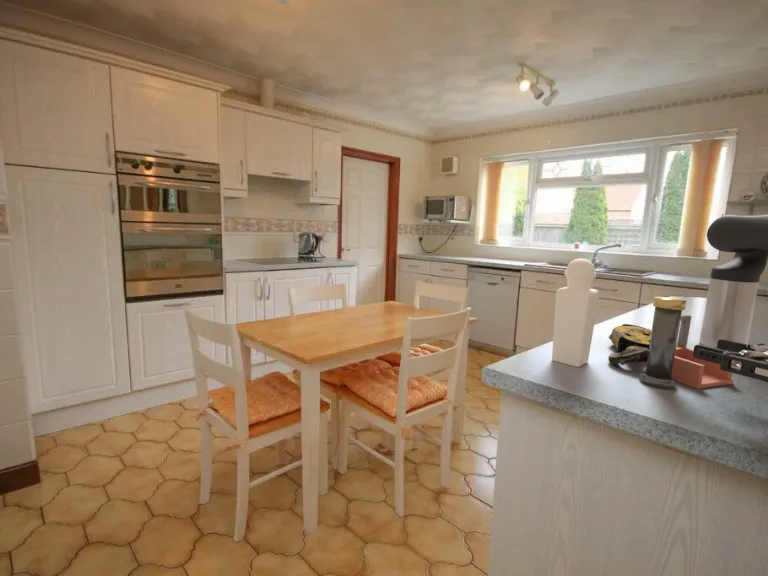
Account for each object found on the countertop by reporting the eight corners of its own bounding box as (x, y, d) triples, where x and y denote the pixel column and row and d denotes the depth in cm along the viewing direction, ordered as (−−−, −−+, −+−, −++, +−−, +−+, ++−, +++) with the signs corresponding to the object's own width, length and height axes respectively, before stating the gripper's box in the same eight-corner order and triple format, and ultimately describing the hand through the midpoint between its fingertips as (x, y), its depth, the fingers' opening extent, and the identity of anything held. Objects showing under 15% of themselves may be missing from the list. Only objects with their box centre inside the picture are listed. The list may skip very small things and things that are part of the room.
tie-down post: (652, 376, 78) (665, 296, 76) (682, 387, 73) (696, 301, 71) (632, 379, 76) (644, 296, 74) (661, 390, 71) (675, 302, 69)
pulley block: (588, 332, 84) (624, 314, 106) (581, 357, 86) (618, 335, 108) (666, 359, 75) (688, 334, 97) (656, 387, 77) (680, 355, 98)
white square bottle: (591, 362, 85) (604, 259, 82) (580, 369, 81) (593, 260, 77) (560, 354, 90) (571, 256, 86) (548, 360, 85) (559, 257, 82)
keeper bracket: (677, 363, 87) (685, 314, 85) (736, 383, 76) (746, 327, 75) (640, 368, 83) (648, 316, 81) (697, 388, 73) (707, 330, 71)
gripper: (869, 348, 57) (728, 322, 71) (839, 362, 50) (689, 329, 64) (856, 398, 58) (721, 362, 72) (826, 418, 51) (682, 374, 65)
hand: (706, 347), depth 68 cm, fingers open, 8 cm apart
